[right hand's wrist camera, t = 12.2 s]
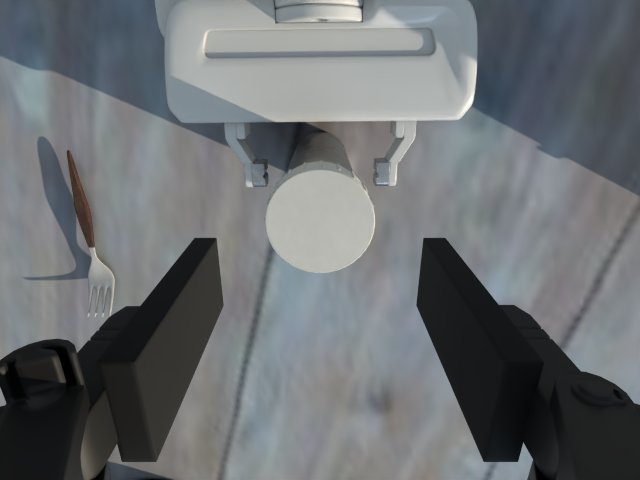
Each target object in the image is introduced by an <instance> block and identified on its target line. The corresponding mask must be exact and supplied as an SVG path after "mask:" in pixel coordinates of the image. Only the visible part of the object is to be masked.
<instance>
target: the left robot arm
mask: <svg viewBox="0 0 640 480" xmlns="http://www.w3.org/2000/svg"><path fill="white" fill-rule="evenodd" d="M155 7H156V14H157V21H158V26H159V30H160V32H161V34H162V36H163V38H164V39H165V44H164V65H165V85H166V96H167V103H168V107H169V109H170V111H171V112H172V113H173V114H174V115H175V116H176V117H177V118H178V119H179V120H180V121H181V122H182V123H224V128H225V139H226V141H227V143H228V144H229V145H230V147H231V148H232V150H233V151H234V153H235V154H236V156H237V157H238V159H239V160H240V161H241V163H242V164H244V172H245V184H246V187H266V186H267V184H268V173H267V172H266V170H267V168H268V164H267V159H256V157H255V155H254V154H253V152H252V151H251V149H250V147H249V146H248V144H247V143H246V141H245V138H246V137H247V136H249V135H250V122H332V121H391V130H390V132H391V134H393V135H394V136H395V137H396V139H395V141H394V142H393V144H392V146H391V147H390V149H389V151H388V152H387V154H386V156H385V158H374V169H375V171H374V173H373V182H374V183H375V186H395V184H396V176H397V162H400V160H401V159H402V157H403V155H404V154H405V152H406V151H407V149H408V148H409V146H410V145H411V143H412V142H413V140H414V139H415V133H416V121H424V120H458V119H460V118H461V117H462V116H463V115H464V114H465V113H466V112H467V110H468V109H469V108H470V107H471V105H472V103H473V100H474V94H475V86H476V74H477V53H478V34H477V20H476V15H475V11H474V8H473V6H472V4H471V2H470V1H469V0H155Z"/></svg>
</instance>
